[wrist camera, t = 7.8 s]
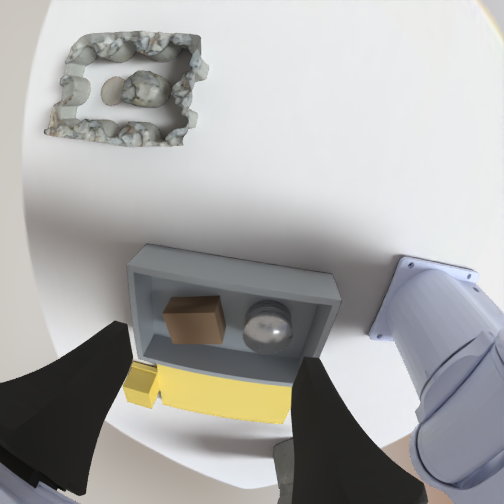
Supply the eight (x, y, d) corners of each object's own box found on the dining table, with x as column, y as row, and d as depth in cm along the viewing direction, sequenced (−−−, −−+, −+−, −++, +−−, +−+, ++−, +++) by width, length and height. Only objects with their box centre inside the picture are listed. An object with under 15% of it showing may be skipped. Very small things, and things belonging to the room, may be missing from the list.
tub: (332, 273, 20) (341, 300, 17) (302, 359, 24) (305, 388, 21) (146, 243, 20) (126, 264, 17) (151, 333, 24) (138, 358, 21)
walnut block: (219, 295, 21) (214, 312, 19) (226, 326, 22) (222, 344, 20) (171, 297, 21) (162, 313, 19) (180, 326, 23) (173, 343, 21)
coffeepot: (308, 466, 35) (309, 557, 19) (255, 459, 34) (247, 558, 18) (367, 424, 29) (387, 542, 13) (306, 416, 28) (311, 556, 12)
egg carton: (71, 132, 17) (37, 137, 13) (93, 44, 14) (61, 34, 10) (192, 154, 18) (171, 160, 14) (222, 50, 14) (208, 30, 11)
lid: (302, 369, 25) (305, 400, 21) (282, 416, 29) (282, 443, 25) (131, 339, 25) (115, 365, 21) (142, 391, 29) (131, 415, 25)
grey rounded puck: (296, 303, 21) (298, 321, 19) (285, 338, 22) (286, 356, 20) (248, 296, 21) (246, 314, 19) (242, 332, 22) (239, 350, 20)
